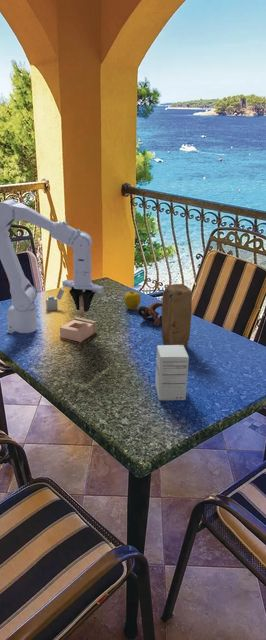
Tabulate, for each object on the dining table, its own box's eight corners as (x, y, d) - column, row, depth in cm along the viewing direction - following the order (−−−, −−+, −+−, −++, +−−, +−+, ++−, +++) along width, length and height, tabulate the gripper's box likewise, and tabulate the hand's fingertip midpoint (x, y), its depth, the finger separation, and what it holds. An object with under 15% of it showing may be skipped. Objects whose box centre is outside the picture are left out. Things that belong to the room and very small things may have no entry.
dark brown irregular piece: (164, 317, 176) (171, 303, 170) (164, 336, 169) (171, 322, 163) (134, 309, 173) (140, 295, 168) (132, 328, 167) (139, 314, 161)
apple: (121, 307, 183) (121, 288, 180) (135, 305, 185) (136, 286, 182) (128, 312, 177) (128, 293, 175) (142, 310, 180) (143, 291, 177)
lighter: (47, 310, 177) (46, 290, 175) (46, 309, 179) (45, 289, 176) (65, 308, 180) (64, 289, 177) (63, 307, 182) (63, 287, 179)
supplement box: (154, 386, 125) (156, 344, 120) (181, 386, 125) (184, 344, 121) (157, 401, 118) (160, 356, 113) (186, 400, 118) (189, 356, 114)
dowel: (77, 315, 154) (77, 295, 151) (82, 313, 156) (82, 294, 153) (83, 317, 153) (83, 297, 150) (88, 315, 154) (87, 295, 152)
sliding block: (60, 337, 151) (59, 327, 150) (73, 329, 158) (73, 319, 157) (80, 342, 148) (80, 332, 147) (93, 333, 155) (93, 324, 153)
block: (190, 350, 147) (195, 290, 140) (168, 352, 145) (172, 292, 138) (178, 336, 157) (182, 280, 150) (157, 338, 155) (160, 282, 148)
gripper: (56, 270, 148) (57, 309, 153) (95, 277, 142) (95, 317, 147) (68, 265, 154) (69, 303, 159) (106, 271, 148) (106, 311, 153)
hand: (82, 310), depth 153 cm, fingers closed on dowel, 2 cm apart
